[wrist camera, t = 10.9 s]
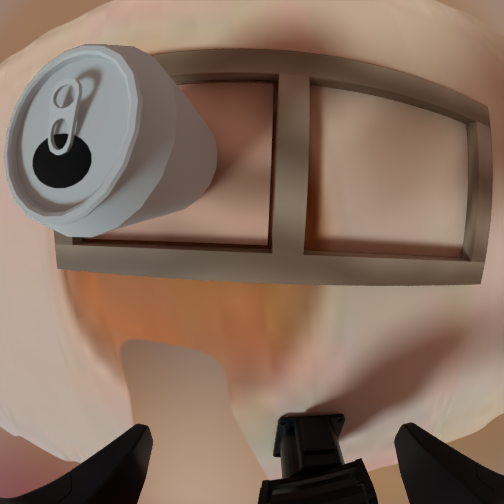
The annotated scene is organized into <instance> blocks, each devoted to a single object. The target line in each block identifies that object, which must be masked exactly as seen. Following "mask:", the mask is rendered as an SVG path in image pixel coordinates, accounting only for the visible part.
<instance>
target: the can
mask: <svg viewBox="0 0 504 504" xmlns="http://www.w3.org/2000/svg"><path fill="white" fill-rule="evenodd" d="M217 151H218V149H217V145H216V142H215V138H214V135H213V132H212V131H211V129H210V128H209V127H208V125H207V124H206V122H205V121H204V119H203V118H202V117H201V116H200V114H199V113H198V112H197V110H196V109H195V108H194V106H193V105H192V104H191V102H190V101H189V100H188V99H187V97H186V96H185V95H184V94H183V92H182V91H181V90H180V88H179V87H178V86H177V85H176V83H175V82H174V81H173V80H172V78H171V77H170V76H169V75H168V73H167V72H166V71H165V70H164V68H163V67H162V66H161V65H160V63H159V62H158V61H157V60H156V58H154V57H153V56H151V55H149V54H147V53H145V52H143V51H141V50H139V49H137V48H135V47H132V46H118V45H106V44H85V45H82V46H79V47H76V48H73V49H71V50H68V51H65V52H63V53H62V54H61V55H59V56H58V57H56V58H55V59H53V60H52V61H51V62H49V63H48V64H46V65H45V66H44V67H43V68H42V69H41V70H40V71H39V72H38V73H37V75H36V76H35V77H34V78H33V79H32V80H31V82H30V83H29V84H28V85H27V87H26V88H25V90H24V92H23V93H22V95H21V97H20V99H19V101H18V102H17V104H16V106H15V108H14V111H13V114H12V117H11V120H10V123H9V126H8V129H7V134H6V142H5V152H4V161H5V170H6V178H7V182H8V185H9V187H10V190H11V193H12V195H13V198H14V200H15V202H16V203H17V204H18V206H19V207H20V208H21V209H22V210H23V212H24V213H25V214H26V215H27V216H28V217H29V218H31V219H33V220H35V221H37V222H39V223H41V224H43V225H46V226H47V227H49V228H51V229H53V230H55V231H57V232H59V233H61V234H63V235H65V236H67V237H94V236H97V235H101V234H104V233H107V232H110V231H113V230H117V229H120V228H123V227H126V226H130V225H133V224H136V223H140V222H143V221H147V220H150V219H154V218H157V217H161V216H164V215H168V214H171V213H174V212H177V211H181V210H184V209H186V208H187V207H189V206H190V205H191V204H193V203H194V202H196V201H197V200H198V199H200V197H201V196H202V195H203V193H204V192H205V191H206V189H207V188H208V187H209V185H210V184H211V181H212V178H213V176H214V173H215V170H216V168H217Z"/></svg>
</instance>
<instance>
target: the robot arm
mask: <svg viewBox="0 0 504 504" xmlns="http://www.w3.org/2000/svg"><path fill="white" fill-rule="evenodd" d="M344 421H345V417H344V415H343V414H337V415H325V416H308V417H282V418H280V419H279V420H278V425H277V431H276V438H275V444H274V450H273V456H274V457H281V468H282V479H277V480H270V481H269V480H264V481H263V482H262V487H261V488H260V493H259V500H258V504H378V500H377V496H376V492H375V489H374V487H373V484H372V482H371V480H370V477H369V475H368V472H367V470H366V468H365V465H364V463H363V461H362V459H361V458H360V459H357V460H355V461H353V462H350V463H347V464H345V463H344V460H343V456H342V452H341V449H340V445H339V442H338V437H339V435H340V432H341V429H342V427H343V424H344ZM394 443H395V448H396V453H397V458H398V463H399V468H400V473H401V477H402V480H403V483H404V486H405V489H406V492H407V496H408V499H409V503H410V504H504V475H501V474H498V473H496V472H494V471H492V470H490V469H488V468H486V467H484V466H482V465H481V464H479V463H477V462H475V461H473V460H472V459H470V458H468V457H467V456H465V455H463V454H461V453H460V452H458V451H457V450H455V449H454V448H452V447H450V446H449V445H447V444H445V443H444V442H442V441H441V440H439V439H438V438H436V437H434V436H433V435H431V434H430V433H428V432H427V431H425V430H423V429H422V428H420V427H419V426H417V425H416V424H414V423H406V424H403V425H402V426H401V427H400V429H399V431H398V433H397V435H396V437H395V440H394ZM152 446H153V439H152V436H151V432H150V429H149V427H148V426H146V425H143V424H136V425H134V426H133V427H131V428H130V429H129V430H127V431H126V432H125V433H123V434H122V435H121V436H119V437H118V438H117V439H115V440H114V441H112V442H111V443H110V444H108V445H107V446H106V447H104V448H103V449H101V450H100V451H98V452H97V453H96V454H94V455H93V456H91V457H90V458H88V459H87V460H85V461H84V462H83V463H81V464H80V465H79V466H77V467H75V468H74V469H72V470H71V471H70V472H68V473H66V474H64V475H63V476H61V477H59V478H58V479H56V480H54V481H53V482H51V483H49V484H47V485H44V486H42V487H40V488H38V489H35V490H33V491H31V492H28V493H26V494H24V495H21V496H18V497H14V498H0V504H137V502H138V499H139V496H140V493H141V490H142V488H143V485H144V482H145V479H146V474H147V470H148V465H149V460H150V455H151V450H152Z"/></svg>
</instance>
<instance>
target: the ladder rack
mask: <svg viewBox="0 0 504 504" xmlns="http://www.w3.org/2000/svg"><path fill="white" fill-rule="evenodd" d="M151 56H153V57H154V58H156V60H157V61H158V62H159V63H160V65H161V66H162V67H163V68H164V70H165V71H166V72H167V73H168V75H169V76H170V77H171V78H172V80H173V81H174V82H175V83H183V82H197V81H226V80H243V81H272V82H278V92H277V129H276V158H275V183H274V206H273V227H272V246H271V249H262V248H237V247H213V246H188V245H162V244H136V243H108V242H83V239H112V240H143V241H171V242H198V243H224V244H249V245H267V243H268V223H269V201H270V177H271V151H272V122H273V88H274V84H270V83H198V84H183V85H177V86H178V87H179V88H180V90H181V91H182V92H183V94H184V95H185V96H186V97H187V99H188V100H189V101H190V102H191V104H192V105H193V106H194V108H195V109H196V110H197V112H198V113H199V114H200V116H201V117H202V118H203V119H204V121H205V122H206V124H207V125H208V127H209V128H210V129H211V131H212V132H213V135H214V138H215V142H216V145H217V149H218V151H217V168H216V170H215V173H214V176H213V178H212V181H211V184H210V185H209V187H208V188H207V189H206V191H205V192H204V193H203V195H202V196H201V197H200V199H198V200H197V201H196V202H194V203H193V204H191V205H190V206H189V207H187V208H186V209H184V210H181V211H177V212H174V213H171V214H168V215H164V216H161V217H157V218H154V219H150V220H147V221H143V222H140V223H136V224H133V225H130V226H126V227H123V228H120V229H117V230H113V231H110V232H107V233H104V234H101V235H97V236H94V237H67V236H65V235H63V234H61V233H59V232H57V231H55V230H54V237H55V250H56V259H57V268H58V269H66V270H76V271H87V272H98V273H109V274H121V275H134V276H147V277H161V278H176V279H192V280H209V281H229V282H250V283H276V284H308V285H365V286H419V285H471V284H481V279H482V274H483V269H484V264H485V258H486V252H487V245H488V238H489V230H490V220H491V207H492V183H493V165H492V142H491V130H490V120H489V112H488V107H486V106H484V105H482V104H480V103H478V102H476V101H474V100H472V99H470V98H468V97H466V96H464V95H461V94H459V93H457V92H454V91H452V90H450V89H447V88H445V87H442V86H440V85H437V84H435V83H432V82H429V81H426V80H424V79H421V78H418V77H415V76H412V75H409V74H405V73H402V72H399V71H396V70H392V69H388V68H385V67H381V66H377V65H373V64H369V63H364V62H360V61H355V60H350V59H345V58H340V57H334V56H328V55H321V54H314V53H306V52H297V51H286V50H271V49H208V50H193V51H182V52H173V53H165V54H158V55H151ZM310 85H316V86H324V87H331V88H337V89H343V90H349V91H355V92H360V93H365V94H370V95H374V96H379V97H383V98H387V99H391V100H395V101H399V102H403V103H406V104H410V105H413V106H417V107H420V108H423V109H427V110H430V111H433V112H436V113H439V114H442V115H444V116H447V117H450V118H453V119H455V120H458V121H461V122H463V123H466V124H467V137H468V202H467V215H466V226H465V235H464V243H463V250H462V256H461V258H458V257H438V256H417V255H396V254H375V253H353V252H331V251H308V250H304V239H305V225H306V208H307V189H308V164H309V120H310Z"/></svg>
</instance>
